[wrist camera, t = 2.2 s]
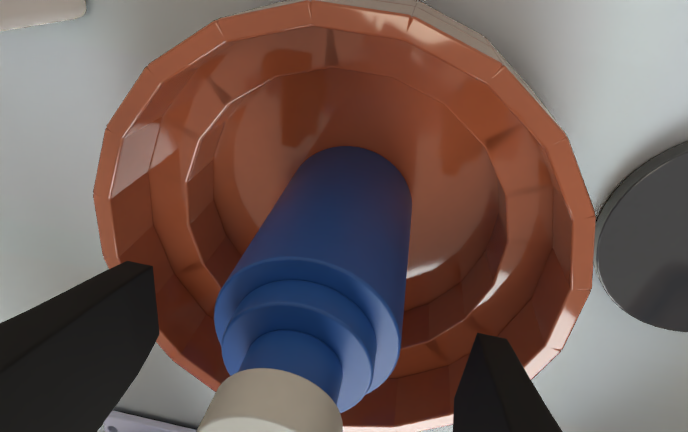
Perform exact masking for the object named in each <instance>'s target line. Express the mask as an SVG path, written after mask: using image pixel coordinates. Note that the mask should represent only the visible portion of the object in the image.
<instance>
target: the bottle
mask: <svg viewBox="0 0 688 432" xmlns="http://www.w3.org/2000/svg"><path fill="white" fill-rule="evenodd" d="M411 215H412V199H411V194H410V190H409V187H408V185H407V183H406V181H405V179H404V177H403V176H402V174H401V173H400V172H399V171H398V169H397V168H396V167H395V166H394V165H393V164H392V163H391V162H389V161H388V160H387V159H385V158H384V157H382V156H381V155H379V154H377V153H375V152H372V151H370V150H367V149H364V148H359V147H352V146H339V147H332V148H328V149H325V150H322V151H320V152H318V153H316V154H314V155H312V156H311V157H309V158H308V159H307V160H306V161H305V162H304V163H303V164H302V165H301V166H300V167H299V168H298V170H297V171H296V173H295V174H294V176H293V177H292V179H291V181H290V182H289V184H288V185H287V187H286V188H285V190H284V192H283V193H282V195H281V196H280V198H279V199H278V201H277V202H276V204H275V206H274V207H273V209H272V210H271V212H270V213H269V215H268V216H267V218H266V220H265V221H264V223H263V224H262V226H261V227H260V229H259V231H258V232H257V234H256V235H255V237H254V238H253V240H252V241H251V243H250V245H249V246H248V248H247V249H246V251H245V252H244V254H243V255H242V257H241V259H240V260H239V262H238V263H237V265H236V266H235V268H234V270H233V271H232V273H231V274H230V276H229V277H228V279H227V280H226V282H225V284H224V285H223V287H222V288H221V290H220V292H219V294H218V297H217V299H216V303H215V308H214V324H215V330H216V334H217V337H218V340H219V342H220V344H221V349H222V357H223V361H224V364H225V367H226V369H227V371H228V373H229V374H230V377H228V378H227V379H226V380H225V381H224V382H222V384H221V385H220V386H219V387H218V389H217V391H216V393H215V395H214V397H213V399H212V401H211V403H210V405H209V407H208V409H207V411H206V413H205V415H204V417H203V419H202V421H201V423H200V425H199V427H198V429H197V431H196V432H343V422H342V418H341V414H340V413H342V412H345V411H347V410H349V409H350V408H352V407H354V406H355V405H356V404H357V403H359V402H360V401H361V400H362V399H363V397H364V396H365V395H366V394H369V393H370V392H372V391H373V390H375V389H376V388H378V387H379V386H380V385H381V384H382V383H384V382H385V381H386V379H387V378H388V377H389V376H390V374H391V373H392V372H393V370H394V368H395V366H396V364H397V361H398V359H399V356H400V349H401V339H402V327H403V315H404V302H405V290H406V277H407V265H408V252H409V240H410V228H411Z"/></svg>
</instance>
